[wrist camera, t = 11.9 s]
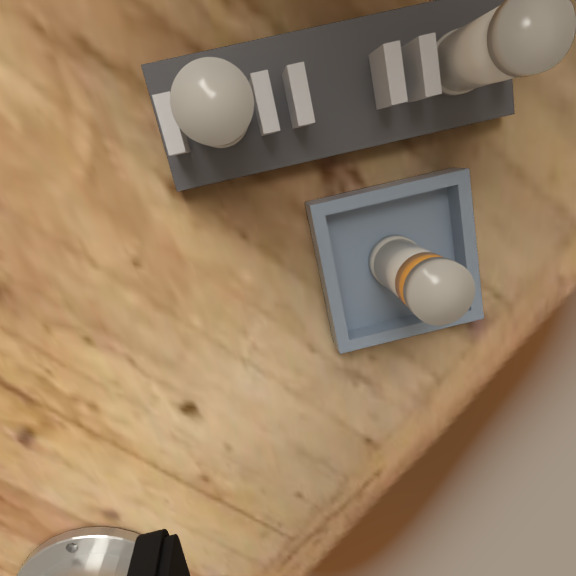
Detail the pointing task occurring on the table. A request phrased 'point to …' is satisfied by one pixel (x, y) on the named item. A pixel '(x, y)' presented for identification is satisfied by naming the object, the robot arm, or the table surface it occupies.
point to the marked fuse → (422, 279)
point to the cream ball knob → (506, 44)
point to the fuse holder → (332, 92)
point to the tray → (376, 225)
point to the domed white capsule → (212, 102)
